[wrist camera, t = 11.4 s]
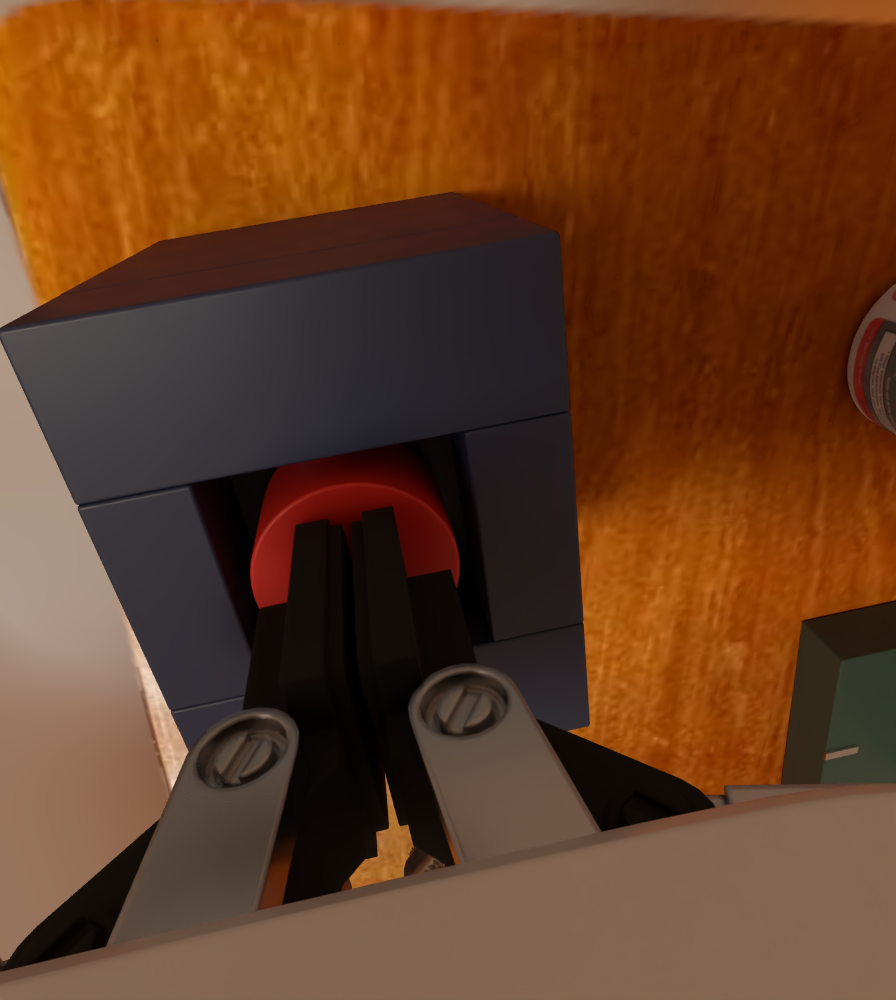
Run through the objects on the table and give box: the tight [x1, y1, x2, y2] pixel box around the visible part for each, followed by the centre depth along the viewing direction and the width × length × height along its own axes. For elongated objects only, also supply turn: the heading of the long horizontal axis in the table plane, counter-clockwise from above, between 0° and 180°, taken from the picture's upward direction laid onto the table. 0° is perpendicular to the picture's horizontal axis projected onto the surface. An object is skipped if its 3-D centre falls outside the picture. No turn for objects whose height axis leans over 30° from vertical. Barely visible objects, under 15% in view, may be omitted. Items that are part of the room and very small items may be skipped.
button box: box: [0, 192, 590, 751], centre depth 16 cm, size 10×8×10 cm
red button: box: [250, 444, 460, 609], centre depth 13 cm, size 4×4×2 cm
